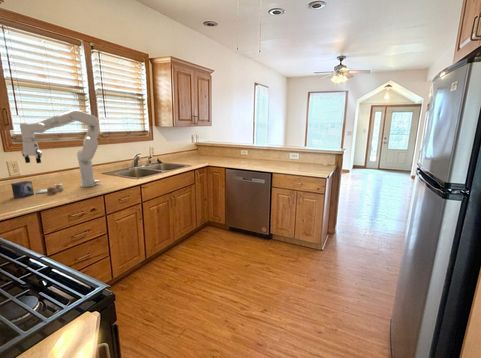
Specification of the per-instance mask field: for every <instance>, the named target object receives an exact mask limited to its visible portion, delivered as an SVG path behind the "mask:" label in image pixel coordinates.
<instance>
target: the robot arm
mask: <svg viewBox="0 0 481 358" xmlns="http://www.w3.org/2000/svg"><path fill="white" fill-rule="evenodd" d="M75 122H80V123H82V124H86V126H87V132H86V134H85V135H84V138H83V140H82V145H83V147H82V148H80V149H79V150H78V151H77V154H76V156H77V161H78V166H79V167H78V168H79V174H80V180H81V184H79V187H82V188H86V187H87V188H89V187H95V186H97V183H99V184H100V183H101V180H99V179H96V180H95V177H94V176H95V175H94V170H93V162H92V160H93V159H94V156H95V155H96V152H97V150H98V147H99V141H98V137H99V134H100V125H99V119H98V117H97V116H95V115H93V114H90V113H87V112H84V111H82V110H80V109H72V110H69V111H66V112H63V113H61V114H57V115H54V116H52V117H49V118H47V119H44V120H41V121H37V122H35V123H28V122H25V123H22V122H21V123H20V124H19V129H20V134H21V138H22V150H21V151H20V153H21V155H22V156H23V158H24V161H25V164H29V163H31V159H30V156H34V157H35V162H36V164H41V163H42V160H41V158H42V154H43V152H42V151H41V150H40V147H39V144H38V142H37V141H36V140H37V139H36V135H35V134H43V133H45V132H46V131H48V130H51V129H54V128H61V127H64V126H66V125H69V124H72V123H75Z"/></svg>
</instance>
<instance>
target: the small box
mask: <svg viewBox="0 0 481 358" xmlns="http://www.w3.org/2000/svg"><path fill="white" fill-rule="evenodd" d="M32 182H33V181H29V180H24V181H19V182H14V183H11V184H10V186H11V188H12V195H13V198H15V199H22V198H25V197H29V196H33V195H35V193H34V188H33V187H34V186H33V183H32Z"/></svg>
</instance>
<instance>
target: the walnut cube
mask: <svg viewBox="0 0 481 358" xmlns="http://www.w3.org/2000/svg"><path fill="white" fill-rule="evenodd" d="M46 189H47V192H48V193H47V195H48V196H52V195H57V193H58V191H57V189H56V187H54V186H48V187H47V188H46Z"/></svg>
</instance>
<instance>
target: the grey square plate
mask: <svg viewBox="0 0 481 358" xmlns="http://www.w3.org/2000/svg"><path fill="white" fill-rule="evenodd" d="M41 194H48V192H47V188H43V189H42V188H41V189H38V191H37V192H36V195H41Z"/></svg>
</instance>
